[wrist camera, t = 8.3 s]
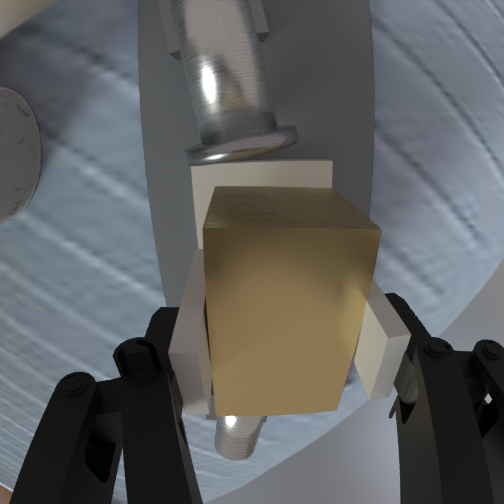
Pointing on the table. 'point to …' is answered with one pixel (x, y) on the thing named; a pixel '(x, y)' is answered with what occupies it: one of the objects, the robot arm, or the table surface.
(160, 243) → the board
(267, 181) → the off-white flat plate
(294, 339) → the coupler
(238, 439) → the shaft
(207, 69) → the shaft
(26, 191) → the speckled tin can
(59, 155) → the table surface
